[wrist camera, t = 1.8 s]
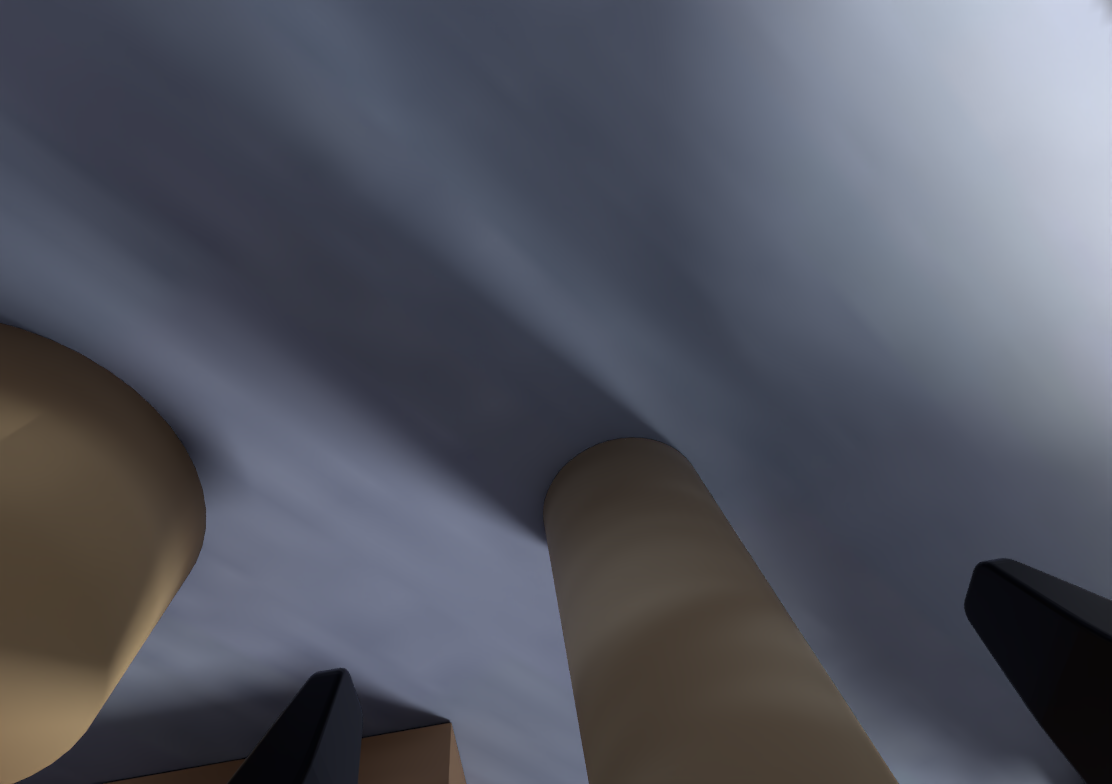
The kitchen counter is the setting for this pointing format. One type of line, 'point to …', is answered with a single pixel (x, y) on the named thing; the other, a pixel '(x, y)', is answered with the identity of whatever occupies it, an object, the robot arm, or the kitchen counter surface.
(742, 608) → the wooden dowel
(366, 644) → the kitchen counter surface
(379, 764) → the square wooden frame
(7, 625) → the tan rounded disc
